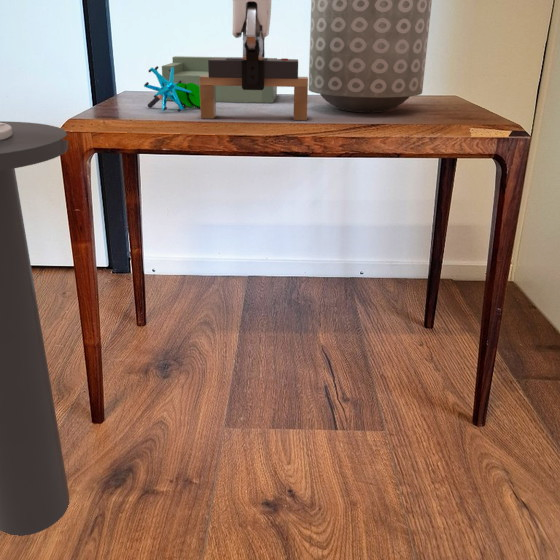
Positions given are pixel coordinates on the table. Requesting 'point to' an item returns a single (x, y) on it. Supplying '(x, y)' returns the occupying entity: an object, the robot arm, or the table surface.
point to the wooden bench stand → (210, 90)
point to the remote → (272, 68)
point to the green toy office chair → (174, 92)
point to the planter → (368, 52)
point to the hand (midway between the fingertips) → (254, 86)
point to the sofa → (198, 66)
